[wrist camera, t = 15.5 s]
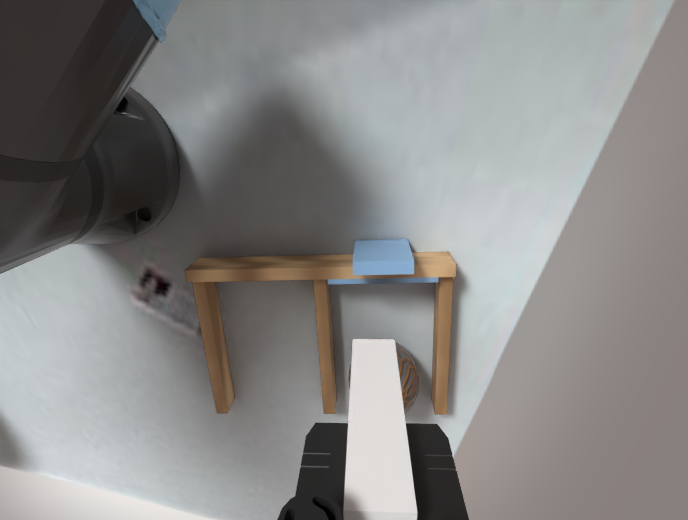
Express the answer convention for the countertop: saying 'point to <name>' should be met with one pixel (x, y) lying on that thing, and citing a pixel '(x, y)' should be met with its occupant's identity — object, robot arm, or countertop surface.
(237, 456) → the countertop surface
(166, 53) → the countertop surface
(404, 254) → the tab
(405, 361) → the vase
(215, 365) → the rack
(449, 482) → the robot arm
